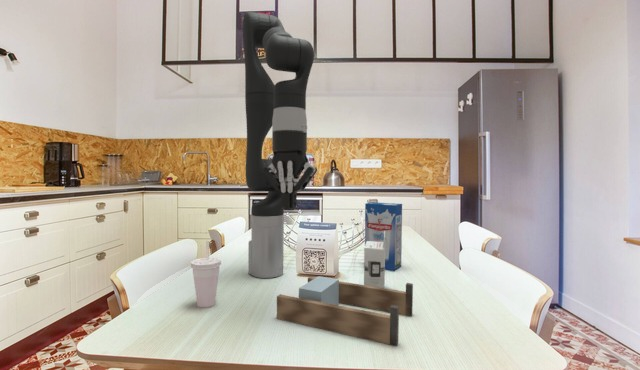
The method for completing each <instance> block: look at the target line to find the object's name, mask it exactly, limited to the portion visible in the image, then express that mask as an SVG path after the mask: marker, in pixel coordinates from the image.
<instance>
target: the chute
mask: <svg viewBox="0 0 640 370" xmlns="http://www.w3.org/2000/svg"><path fill="white" fill-rule="evenodd" d="M315 278H316V277H315V276H309V277H307V283H308V282H310V281H311V280H313V279H315ZM413 293H414V284H413V283H411V282H406V284H405V290H404V291H403V290H399V289H398V290H397V289H391V288H386V287H384V288H379V287H373V286H366V285H364V284H358V283H353V282H345V281H341V280H339V305H333V304H328V303H323V302H318V301H312V300H307V299H302V298H299V297H295V296H291V295H285V294H279V295H277V296H276V319H278V320H282V321H286V322H291V323H295V324H298V325H304V326H308V327H313V328H316V329H319V330H320V329H321V330H324V331H330V332H334V333H338V334H344V335H347V336H351V337H355V338H360V339H363V340H369V341H373V342H378V343H380V344H381V343H382V344H387V345H389V346H396V347H398V344H399V332H400V331H399V327H400V325H399V324H400V323H399V322H400V321H399V320H400V319H399V318H400V317H399V316H400V315H402V316H408V317H412V315H413V303H414V300H413V299H414V297H413ZM340 304H342V305H343V306H342V305H340ZM344 305H348V306H354V308H353V307H348V306H344ZM355 307H358V308H355ZM359 308H364V309H371V310H375V311H379V312H380V311H381V312H386V313H389V314H385V313H379V312H374V311H370V310H364V309H359Z"/></svg>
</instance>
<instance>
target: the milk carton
mask: <svg viewBox="0 0 640 370" xmlns="http://www.w3.org/2000/svg"><path fill="white" fill-rule="evenodd" d="M364 204H365V206H364V207H365V212H364V245H365V244H366V242H367V241H374V242H384V231H385V271H389V272H397V270H399V269H400V268H402V248H403V246H402V242H403V241H402V240H403V237H402V235H403V232H402V231H403V203H390V202H388V203H387V202H376V201H375V202H374V201H373V202H366V203H364Z"/></svg>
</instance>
